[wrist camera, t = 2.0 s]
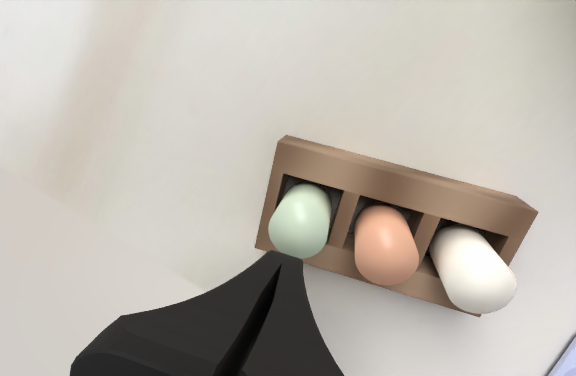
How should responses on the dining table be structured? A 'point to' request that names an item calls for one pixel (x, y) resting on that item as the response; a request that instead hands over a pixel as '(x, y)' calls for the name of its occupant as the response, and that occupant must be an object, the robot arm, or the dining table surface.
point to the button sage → (301, 220)
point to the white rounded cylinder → (471, 270)
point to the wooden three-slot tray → (400, 191)
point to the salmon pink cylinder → (384, 245)
